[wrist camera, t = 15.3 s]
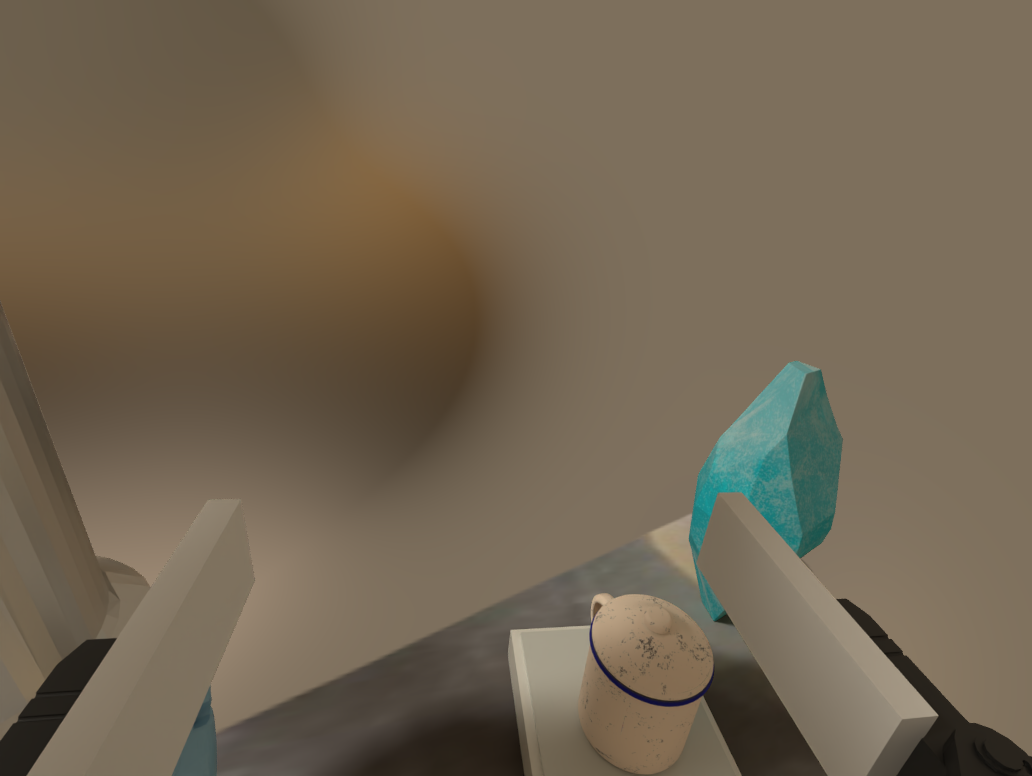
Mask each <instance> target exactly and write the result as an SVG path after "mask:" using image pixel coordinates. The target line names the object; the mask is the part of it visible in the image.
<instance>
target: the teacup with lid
mask: <svg viewBox="0 0 1032 776" xmlns="http://www.w3.org/2000/svg"><path fill="white" fill-rule="evenodd" d="M591 621H592V623H591V626H590V632H589V640H590V646H589V651H588V656H587V661H586V665H585V670H584V675H583V680H582V684H581V689H580V694H579V699H578V713H579V719H580V723H581V726H582V728H583V731H584V733H585V735H586V737H587V739H588V740H589V742H590V743H591V745H592V746H593V747H594V749H595V750H596V751H597V752H598V753H599V754H600V755H601V756H602V757H603V758H604V759H606V760H607V761H608V762H610V763H611V764H613V765H614V766H616V767H618V768H620V769H622V770H625V771H628V772H631V773H635V774H654V773H658V772H661V771H664V770H666V769H667V768H669V767H671V766H672V765H673V764H674V763H675V762H676V761H677V760H678V758H679V757H680V755H681V753H682V751H683V749H684V746H685V743H686V740H687V737H688V735H689V732H690V729H691V726H692V724H693V721H694V718H695V715H696V713H697V710H698V707H699V704H700V701H701V699H702V696H703V695H704V694H705V693H706V691H707V690H708V688H709V687H710V685H711V683H712V680H713V675H714V660H713V654H712V650H711V647H710V644H709V642H708V640H707V638H706V636H705V634H704V633H703V631H702V630H701V628H700V627H699V626H698V625H697V623H696V622H695V621H694V620H693V619H692V618H691V617H690V616H688V615H687V614H686V613H685V612H684V611H682V610H681V609H679V608H678V607H676V606H675V605H673V604H671V603H669V602H667V601H665V600H662V599H659V598H656V597H653V596H648V595H641V594H630V595H623V596H619V597H617V598H613V597H612V596H611V595H609V594H607V593H601V594H598V595H596V596H595V597H594V598H593V600H592V605H591Z"/></svg>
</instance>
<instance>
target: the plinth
mask: <svg viewBox="0 0 1032 776" xmlns="http://www.w3.org/2000/svg"><path fill="white" fill-rule="evenodd" d="M589 632H590V626H574V627H556V628H538V629H520V630H511V631H510V640H509V649H508V659H509V667H510V674H511V681H512V689H513V696H514V703H515V711H516V718H517V725H518V733H519V740H520V747H521V755H522V762H523V769H524V776H742V775H741V773H740V771H739V769H738V767H737V765H736V763H735V761H734V759H733V757H732V755H731V753H730V750H729V748H728V746H727V744H726V742H725V740H724V738H723V736H722V734H721V732H720V730H719V728H718V726H717V724H716V722H715V719H714V717H713V715H712V713H711V711H710V709H709V707H708V705H707V703H706V701H705V699H704V697H703V696H702V699H701V701H700V704H699V707H698V710H697V713H696V715H695V718H694V721H693V724H692V726H691V729H690V732H689V735H688V737H687V740H686V743H685V746H684V749H683V751H682V753H681V755H680V757H679V758H678V760H677V761H676V762H675V763H674V764H673V765H672V766H671V767H669V768H667V769H666V770H664V771H661V772H658V773H654V774H635V773H631V772H628V771H625V770H622V769H620V768H618V767H616V766H614V765H613V764H611V763H610V762H608V761H607V760H606V759H604V758H603V757H602V756H601V755H600V754H599V753H598V752H597V751H596V750H595V749H594V747H593V746H592V745H591V743H590V742H589V740H588V739H587V737H586V735H585V733H584V731H583V728H582V726H581V723H580V719H579V713H578V699H579V694H580V689H581V684H582V680H583V675H584V670H585V665H586V661H587V656H588V651H589V646H590V640H589Z"/></svg>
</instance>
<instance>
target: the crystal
mask: <svg viewBox="0 0 1032 776" xmlns="http://www.w3.org/2000/svg"><path fill="white" fill-rule="evenodd" d="M842 442H843V438H842V436H841V434H840V432H839V430H838V428H837V425H836V422H835V419H834V416H833V413H832V410H831V407H830V404H829V401H828V398H827V394H826V390H825V386H824V381H823V377H822V372H821V370H820V369H818V368H815V367H812V366H810V365H807V364H804V363H801V362H799V361H794V362H790V363H788V364H787V365H786V367H785V368H784V369H783V370H782V371H781V372H780V373H779V374H778V375H777V376H776V378H774V380H773V381H772V382H771V383H770V384H769V385H768V386H767V387H766V388H765V389H764V391H763V392H762V393H761V394H760V395H759V396H758V397H757V398H756V399H755V400H754V401H753V403H752V404H751V405H750V406H749V407H748V408H747V409H746V410H745V411H744V412H743V413H742V415H741V416H740V417H739V418H738V419H737V420H736V421H735V422H734V423H733V424H732V425H731V427H730V428H729V429H728V430H727V431H726V432H725V433H724V434H723V435H722V436H721V437H720V438H719V440H718V442H717V444H716V445H715V447H714V448H713V450H712V452H711V454H710V455H709V457H708V459H707V460H706V462H705V464H704V466H703V467H702V469H701V471H700V473H699V475H698V481H697V487H696V493H695V501H694V507H693V513H692V520H691V527H690V534H689V542H690V545H691V549H692V554H693V559H694V564H695V569H696V574H697V579H698V584H699V589H700V594H701V599H702V602H703V604H704V606H705V607H706V609H707V611H708V612H709V614H710V616H711V617H712V619H713V621H717V620H718V619H720V618H721V617H723V616H724V615H726V614H727V613H726V611H725V609H724V608H723V606H722V605H721V603H720V601H719V600H718V598H717V597H716V595H715V593H714V592H713V590H712V588H711V587H710V585H709V584H708V582H707V580H706V579H705V577H704V576H703V574H702V572H701V571H700V569H699V568H698V566H697V564H696V563H697V559H698V556H699V553H700V550H701V546H702V543H703V540H704V537H705V533H706V530H707V527H708V524H709V520H710V517H711V514H712V511H713V507H714V504H715V501H716V497H717V494H718V493H732V492H742V493H743V494H744V496H745V497H746V498H747V499H748V500H749V501H750V502H751V503H752V505H753V506H754V507H755V508H756V509H757V510H758V511H759V513H760V514H761V515H762V516H763V517H764V518H765V519H766V520H767V522H768V523H769V524H770V525H771V526H772V527H773V528H774V530H775V531H776V532H777V533H778V534H779V535H780V536H781V537H782V539H783V540H784V541H785V542H786V543H787V544H788V545H789V547H790V548H791V549H792V550H793V551H794V552H795V553H796V554H797V556H798V557H799V558H802V557H803V556H804V555H806V554H807V553H808V552H810V551H811V550H812V549H814V548H815V547H817V546H818V545H820V544H821V543H822V542H823V540H824V539H825V537H826V535H827V534H828V532H829V531H830V529H831V526H832V522H833V518H834V514H835V507H836V497H837V490H838V479H839V470H840V461H841V451H842Z"/></svg>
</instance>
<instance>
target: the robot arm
mask: <svg viewBox="0 0 1032 776" xmlns="http://www.w3.org/2000/svg"><path fill="white" fill-rule="evenodd" d="M696 564H697V566H698V568H699V569H700V571H701V572H702V574H703V576H704V577H705V579H706V580H707V582H708V584H709V585H710V587H711V588H712V590H713V592H714V593H715V595H716V597H717V598H718V600H719V601H720V603H721V605H722V606H723V608H724V609H725V611H726V613H727V614H728V616H729V617H730V619H731V621H732V622H733V624H734V626H735V627H736V629H737V630H738V632H739V634H740V635H741V637H742V638H743V640H744V642H745V643H746V645H747V647H748V648H749V650H750V651H751V653H752V655H753V656H754V658H755V659H756V661H757V663H758V664H759V666H760V667H761V669H762V671H763V672H764V674H765V676H766V677H767V679H768V680H769V682H770V684H771V685H772V687H773V688H774V690H775V692H776V693H777V695H778V696H779V698H780V700H781V701H782V703H783V705H784V706H785V708H786V709H787V711H788V713H789V714H790V716H791V717H792V719H793V721H794V722H795V724H796V725H797V727H798V729H799V730H800V732H801V734H802V735H803V737H804V738H805V740H806V742H807V743H808V745H809V746H810V748H811V750H812V751H813V753H814V754H815V756H816V758H817V759H818V761H819V763H820V764H821V766H822V767H823V769H824V771H825V772H826V774H827V775H828V776H1032V757H1031V756H1028V755H1027V754H1026V753H1025V752H1024V751H1023V750H1022V749H1021V748H1019V747H1018V746H1017V745H1016V744H1014V743H1013V742H1012V741H1011V740H1010V739H1008V738H1006V737H1005V736H1003V735H1001V734H999V733H998V732H996V731H994V730H993V729H990V728H988V727H985V726H982V725H979V724H976V723H969V722H968V721H967V720H966V719H965V718H964V717H963V716H962V715H961V714H960V713H959V712H958V711H957V710H956V709H955V708H954V706H952V704H951V703H950V702H949V701H948V700H947V699H946V698H945V697H944V696H943V695H942V694H941V692H940V691H939V690H938V689H937V688H936V687H935V686H934V685H933V684H932V683H931V682H930V680H929V679H928V678H927V677H926V676H925V675H924V674H923V673H922V672H921V671H920V670H919V669H918V667H917V666H916V665H915V664H914V663H913V662H912V661H911V660H910V659H909V658H908V657H907V656H904V655H903V653H902V652H903V651H902V650H901V649H900V648H899V647H898V646H897V645H896V644H895V643H894V642H893V640H892V639H888V635H887V634H886V633H885V632H884V631H883V630H882V629H881V627H880V626H879V625H878V624H877V623H876V622H875V621H874V620H873V619H872V618H871V617H870V616H869V615H868V614H867V613H865V612H864V611H863V610H861V609H860V608H858V607H857V606H856V605H854V604H853V603H851V602H850V601H849V600H847V599H835V598H834V596H833V595H832V594H831V593H830V592H829V591H828V590H827V588H826V587H825V586H824V585H823V584H822V583H821V582H820V581H819V579H818V578H817V577H816V576H815V575H814V574H813V573H812V571H811V570H810V569H809V568H808V567H807V566H806V565H805V564H804V562H803V561H802V560H801V559H800V558H799V557H798V556H797V554H796V553H795V552H794V551H793V550H792V549H791V548H790V547H789V545H788V544H787V543H786V542H785V541H784V540H783V539H782V537H781V536H780V535H779V534H778V533H777V532H776V531H775V530H774V528H773V527H772V526H771V525H770V524H769V523H768V522H767V520H766V519H765V518H764V517H763V516H762V515H761V514H760V513H759V511H758V510H757V509H756V508H755V507H754V506H753V505H752V503H751V502H750V501H749V500H748V499H747V498H746V497H745V496H744V494H743V493H742V492H732V493H718V494H717V497H716V501H715V504H714V507H713V511H712V514H711V517H710V520H709V524H708V527H707V530H706V533H705V537H704V540H703V543H702V546H701V550H700V553H699V556H698V559H697V563H696ZM254 581H255V577H254V571H253V565H252V560H251V554H250V548H249V542H248V536H247V531H246V525H245V519H244V513H243V507H242V501H241V499H209V500H208V501H207V503H206V504H205V506H204V507H203V509H202V510H201V512H200V513H199V515H198V516H197V518H196V519H195V521H194V522H193V524H192V525H191V527H190V528H189V530H188V532H187V533H186V535H185V536H184V538H183V539H182V541H181V542H180V544H179V545H178V547H177V548H176V550H175V551H174V553H173V554H172V556H171V557H170V559H169V560H168V562H167V563H166V565H165V566H164V568H163V570H162V571H161V573H160V574H159V576H158V577H157V578H156V580H155V582H154V583H153V585H152V586H151V587H150V586H149V584H148V583H147V581H146V579H145V578H144V577H143V576H142V575H141V574H139V573H138V572H137V571H135V569H133V568H131V567H129V566H127V565H125V564H123V563H121V562H118V561H115V560H113V559H110V558H105V557H100V556H95V553H94V550H93V548H92V545H91V543H90V540H89V537H88V534H87V532H86V529H85V526H84V524H83V521H82V518H81V516H80V513H79V511H78V508H77V505H76V502H75V500H74V497H73V494H72V492H71V489H70V486H69V484H68V481H67V478H66V475H65V473H64V470H63V468H62V465H61V462H60V459H59V457H58V454H57V451H56V449H55V446H54V443H53V441H52V438H51V436H50V433H49V430H48V427H47V425H46V422H45V419H44V417H43V414H42V412H41V409H40V406H39V403H38V401H37V398H36V395H35V393H34V390H33V387H32V385H31V382H30V379H29V377H28V374H27V371H26V369H25V366H24V363H23V360H22V358H21V355H20V353H19V350H18V347H17V345H16V342H15V339H14V337H13V334H12V331H11V328H10V326H9V323H8V321H7V318H6V315H5V312H4V310H3V307H2V304H1V302H0V776H216V773H217V745H216V731H215V721H214V715H213V710H212V708H211V706H210V705H211V682H212V680H213V678H214V675H215V673H216V670H217V668H218V666H219V663H220V661H221V659H222V656H223V654H224V652H225V649H226V647H227V644H228V642H229V639H230V638H231V635H232V633H233V631H234V628H235V626H236V624H237V621H238V619H239V617H240V614H241V612H242V609H243V607H244V605H245V603H246V600H247V598H248V595H249V593H250V591H251V588H252V586H253V584H254Z"/></svg>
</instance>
